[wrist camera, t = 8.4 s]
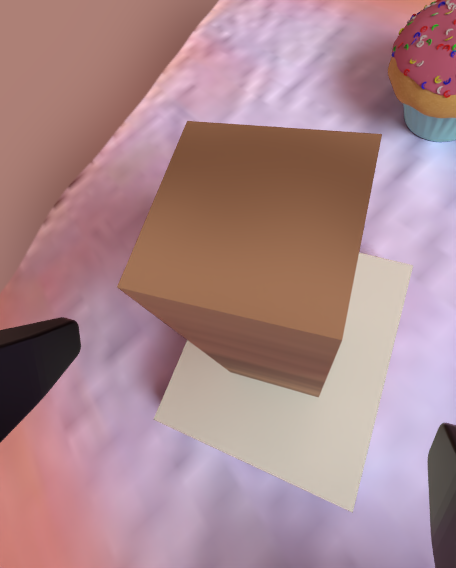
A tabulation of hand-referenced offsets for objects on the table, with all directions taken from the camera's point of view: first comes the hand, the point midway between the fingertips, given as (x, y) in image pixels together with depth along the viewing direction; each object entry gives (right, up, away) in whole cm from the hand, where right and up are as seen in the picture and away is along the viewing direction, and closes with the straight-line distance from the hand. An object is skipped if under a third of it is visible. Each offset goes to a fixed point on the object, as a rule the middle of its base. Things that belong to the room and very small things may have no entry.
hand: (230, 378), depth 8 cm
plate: (+3, -2, +12) cm, 12 cm away
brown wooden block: (+3, -1, +10) cm, 10 cm away
